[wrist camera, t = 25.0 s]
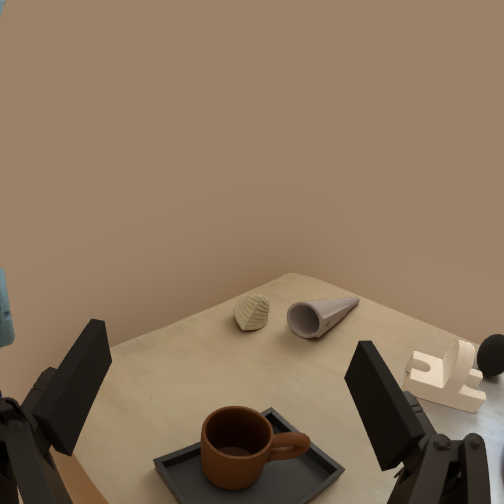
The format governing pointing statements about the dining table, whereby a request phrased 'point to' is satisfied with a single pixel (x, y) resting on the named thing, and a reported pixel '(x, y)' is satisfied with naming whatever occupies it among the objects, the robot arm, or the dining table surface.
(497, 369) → the speaker
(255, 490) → the tray
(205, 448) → the mug
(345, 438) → the dining table surface
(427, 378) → the block with arch cutout
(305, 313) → the planter
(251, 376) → the dining table surface
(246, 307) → the seashell
